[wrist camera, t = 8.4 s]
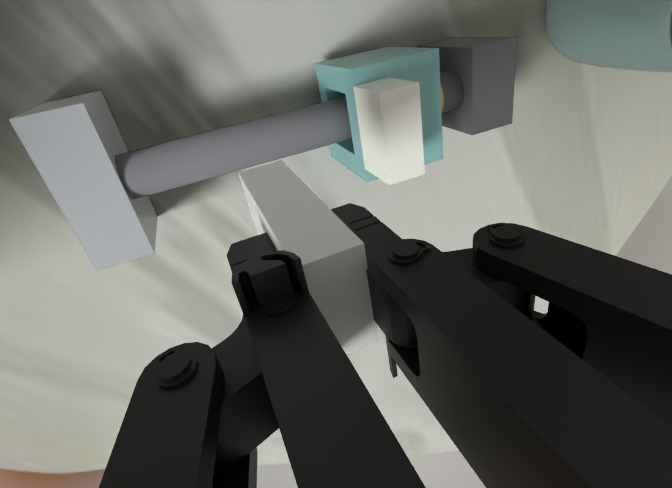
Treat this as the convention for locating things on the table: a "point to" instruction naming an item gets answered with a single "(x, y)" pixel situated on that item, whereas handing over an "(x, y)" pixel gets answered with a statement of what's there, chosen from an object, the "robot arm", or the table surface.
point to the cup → (613, 32)
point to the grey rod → (248, 144)
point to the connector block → (480, 81)
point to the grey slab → (88, 177)
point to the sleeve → (387, 110)
